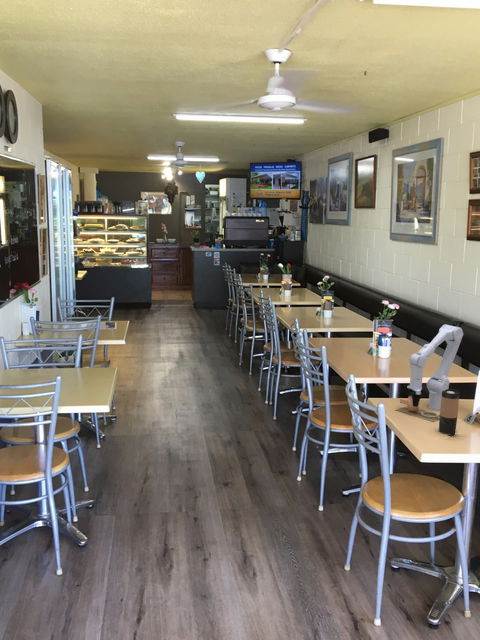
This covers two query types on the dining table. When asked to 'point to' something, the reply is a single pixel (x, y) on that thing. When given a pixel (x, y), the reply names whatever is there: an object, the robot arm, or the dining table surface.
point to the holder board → (421, 414)
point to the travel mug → (448, 411)
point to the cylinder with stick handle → (409, 404)
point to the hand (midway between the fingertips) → (414, 404)
